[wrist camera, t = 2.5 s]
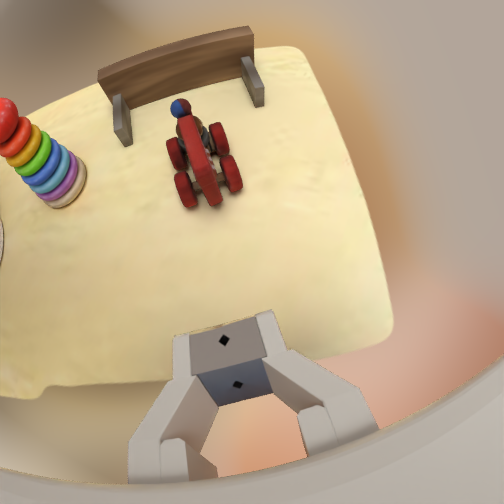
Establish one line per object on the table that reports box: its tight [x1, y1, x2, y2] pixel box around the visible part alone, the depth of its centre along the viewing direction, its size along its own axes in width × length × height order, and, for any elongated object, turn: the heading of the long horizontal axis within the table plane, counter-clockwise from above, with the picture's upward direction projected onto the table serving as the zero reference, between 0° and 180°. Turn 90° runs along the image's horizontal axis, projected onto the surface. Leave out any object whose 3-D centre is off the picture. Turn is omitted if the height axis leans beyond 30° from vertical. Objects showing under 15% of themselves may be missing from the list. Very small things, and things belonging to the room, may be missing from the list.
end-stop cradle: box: [98, 26, 264, 147], centre depth 33 cm, size 9×21×8 cm, turn 107°
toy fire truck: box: [166, 99, 243, 208], centre depth 30 cm, size 7×12×10 cm, turn 19°
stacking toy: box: [0, 98, 86, 208], centre depth 26 cm, size 8×8×19 cm
